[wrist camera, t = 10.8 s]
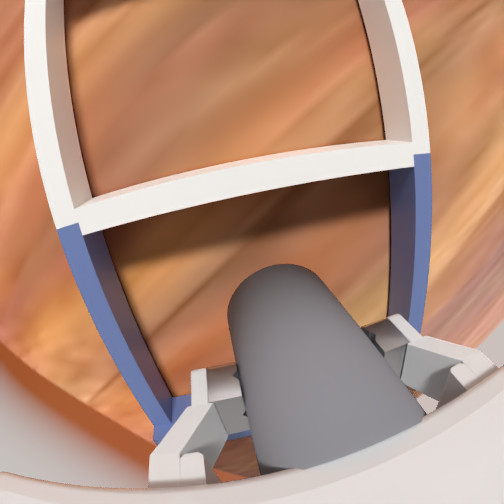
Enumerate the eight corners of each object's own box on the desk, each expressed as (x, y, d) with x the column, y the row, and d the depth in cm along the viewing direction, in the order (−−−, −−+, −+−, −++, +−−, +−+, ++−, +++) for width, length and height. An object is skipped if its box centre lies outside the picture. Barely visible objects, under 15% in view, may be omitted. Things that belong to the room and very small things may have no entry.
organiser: (352, -60, 8) (379, -85, 5) (397, 347, 17) (422, 375, 14) (46, -18, 7) (19, -42, 4) (162, 409, 16) (160, 449, 13)
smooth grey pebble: (324, 252, 12) (457, 390, 5) (330, 336, 14) (414, 473, 6) (216, 279, 12) (250, 473, 4) (239, 361, 13) (279, 524, 6)
